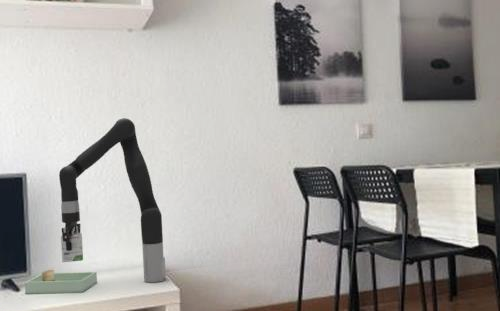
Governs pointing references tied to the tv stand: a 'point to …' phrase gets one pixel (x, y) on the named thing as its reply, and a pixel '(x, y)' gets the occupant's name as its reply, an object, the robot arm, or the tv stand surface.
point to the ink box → (73, 249)
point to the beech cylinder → (48, 275)
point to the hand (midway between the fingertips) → (72, 248)
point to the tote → (62, 283)
